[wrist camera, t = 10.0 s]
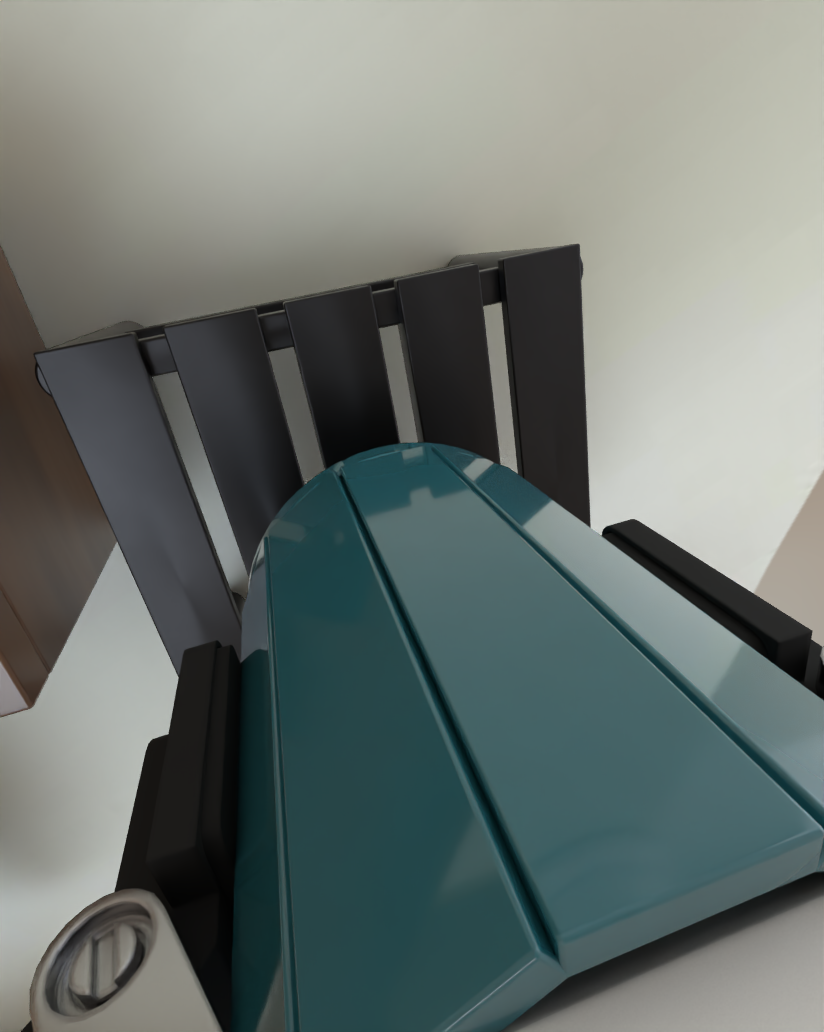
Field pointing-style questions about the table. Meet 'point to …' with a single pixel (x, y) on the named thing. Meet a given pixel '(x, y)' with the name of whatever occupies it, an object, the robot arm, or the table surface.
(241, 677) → the cup
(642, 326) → the table surface
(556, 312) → the rack
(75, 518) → the dark wooden cube
